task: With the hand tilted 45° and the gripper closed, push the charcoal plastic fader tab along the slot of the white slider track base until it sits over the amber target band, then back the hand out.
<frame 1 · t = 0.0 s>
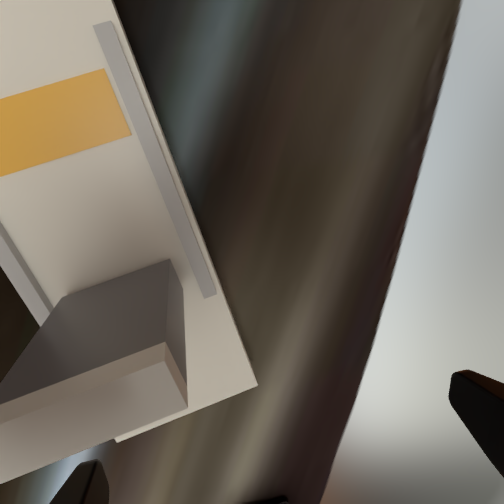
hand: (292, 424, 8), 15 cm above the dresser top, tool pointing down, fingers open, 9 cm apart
fader tab: (109, 338, 14), point 8 cm above the dresser top, slide at 0.0 cm
white slider track base: (117, 244, 20), on the dresser top
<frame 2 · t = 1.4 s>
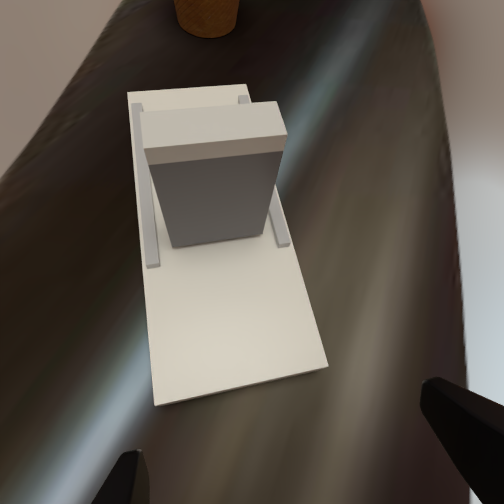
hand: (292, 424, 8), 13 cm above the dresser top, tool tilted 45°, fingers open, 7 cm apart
fader tab: (215, 186, 18), point 8 cm above the dresser top, slide at 0.0 cm
white slider track base: (211, 224, 26), on the dresser top
disposable coffee cup: (207, 22, 37), on the dresser top
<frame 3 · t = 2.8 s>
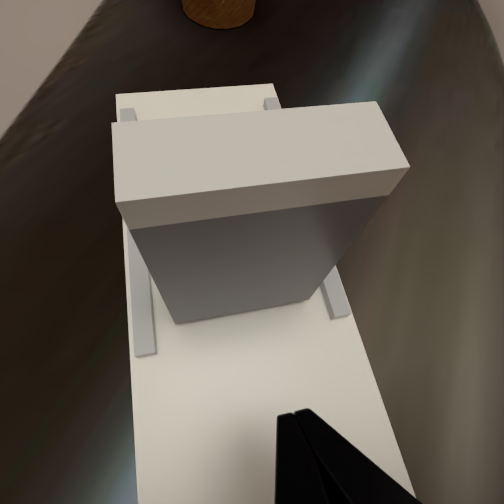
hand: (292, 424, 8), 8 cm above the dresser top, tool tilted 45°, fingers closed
fader tab: (247, 244, 11), point 8 cm above the dresser top, slide at 0.0 cm
white slider track base: (230, 275, 19), on the dresser top
disposable coffee cup: (218, 10, 30), on the dresser top
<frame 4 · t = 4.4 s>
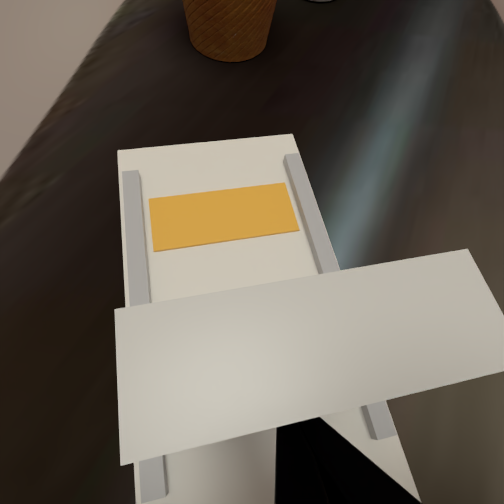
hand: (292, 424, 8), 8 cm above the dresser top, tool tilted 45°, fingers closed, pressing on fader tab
fader tab: (278, 372, 9), point 7 cm above the dresser top, slide at 0.8 cm, touching gripper
white slider track base: (248, 363, 16), on the dresser top
disposable coffee cup: (228, 40, 28), on the dresser top
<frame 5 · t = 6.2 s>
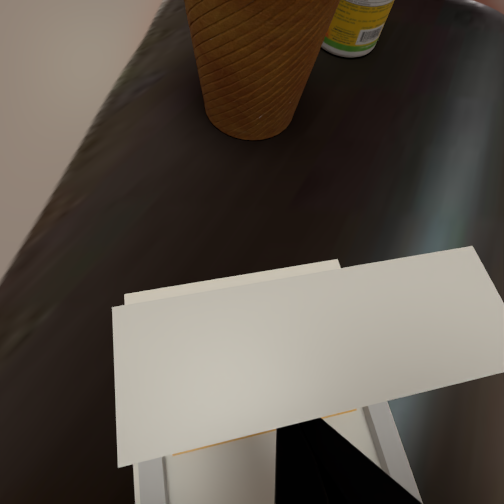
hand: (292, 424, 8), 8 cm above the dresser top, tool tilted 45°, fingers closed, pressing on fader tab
fader tab: (279, 371, 9), point 7 cm above the dresser top, slide at 9.2 cm, touching gripper
supplement bottle: (342, 41, 29), on the dresser top
disposable coffee cup: (249, 110, 24), on the dresser top
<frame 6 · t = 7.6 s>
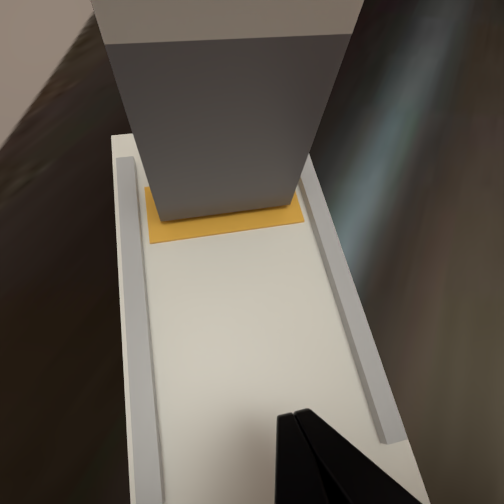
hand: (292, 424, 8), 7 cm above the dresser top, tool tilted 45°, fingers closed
fader tab: (225, 120, 12), point 8 cm above the dresser top, slide at 9.3 cm
white slider track base: (249, 361, 15), on the dresser top
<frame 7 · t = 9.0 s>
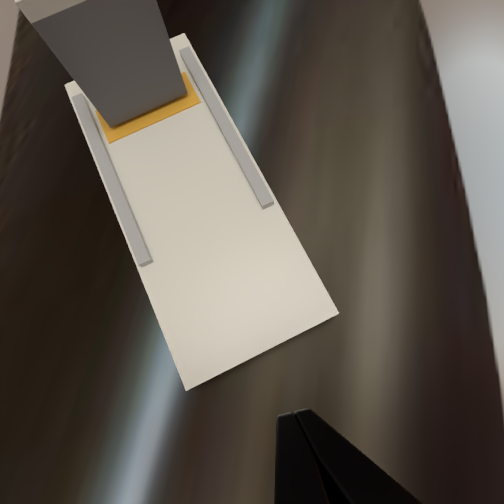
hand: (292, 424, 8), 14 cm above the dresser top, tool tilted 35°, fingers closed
fader tab: (116, 46, 20), point 8 cm above the dresser top, slide at 9.3 cm
white slider track base: (193, 200, 25), on the dresser top
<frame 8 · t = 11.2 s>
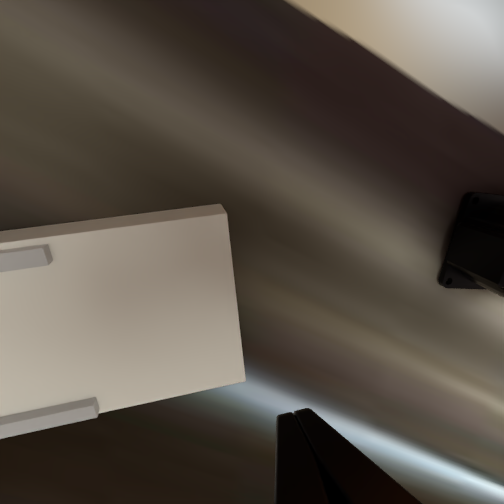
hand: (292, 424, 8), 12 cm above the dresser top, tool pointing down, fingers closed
white slider track base: (10, 322, 18), on the dresser top
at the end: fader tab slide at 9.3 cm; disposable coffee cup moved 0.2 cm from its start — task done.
